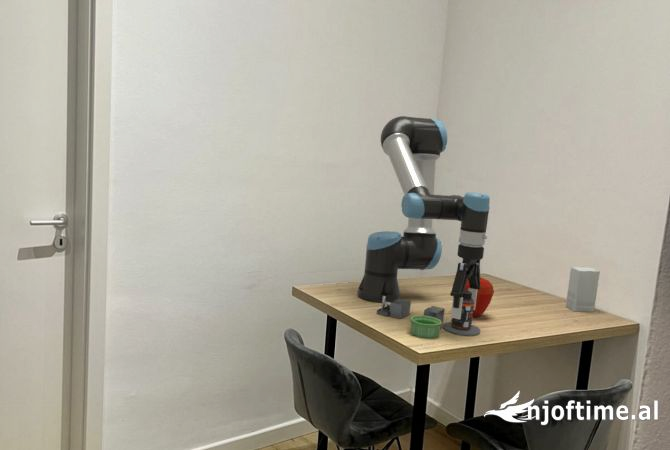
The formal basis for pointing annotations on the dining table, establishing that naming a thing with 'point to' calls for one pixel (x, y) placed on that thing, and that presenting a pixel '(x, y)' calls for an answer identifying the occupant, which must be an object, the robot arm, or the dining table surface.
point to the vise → (407, 309)
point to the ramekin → (425, 326)
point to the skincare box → (582, 289)
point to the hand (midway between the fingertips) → (463, 313)
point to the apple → (482, 296)
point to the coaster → (471, 332)
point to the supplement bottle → (465, 313)
